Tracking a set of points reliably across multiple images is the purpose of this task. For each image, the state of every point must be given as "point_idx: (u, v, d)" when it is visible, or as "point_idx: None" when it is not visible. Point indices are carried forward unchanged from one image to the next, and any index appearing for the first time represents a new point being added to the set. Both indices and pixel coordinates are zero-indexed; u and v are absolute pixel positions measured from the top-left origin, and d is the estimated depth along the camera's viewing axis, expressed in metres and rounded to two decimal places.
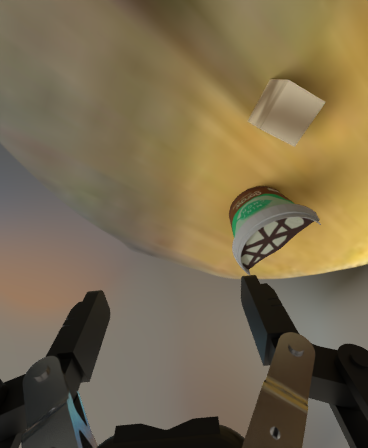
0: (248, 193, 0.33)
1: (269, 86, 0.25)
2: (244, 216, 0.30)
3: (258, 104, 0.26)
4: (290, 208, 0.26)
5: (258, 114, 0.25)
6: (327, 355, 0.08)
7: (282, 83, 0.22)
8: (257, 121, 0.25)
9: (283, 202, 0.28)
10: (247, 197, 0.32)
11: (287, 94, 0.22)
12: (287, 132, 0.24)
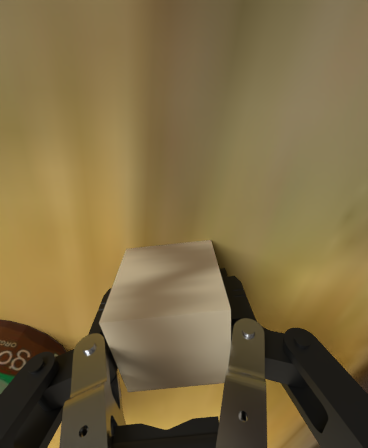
0: (10, 340, 0.14)
1: (199, 251, 0.11)
2: None
3: (162, 250, 0.12)
4: None
5: (139, 275, 0.10)
6: (277, 338, 0.09)
7: (216, 291, 0.09)
8: (124, 286, 0.10)
9: None
10: None
11: (204, 324, 0.08)
12: (138, 368, 0.09)
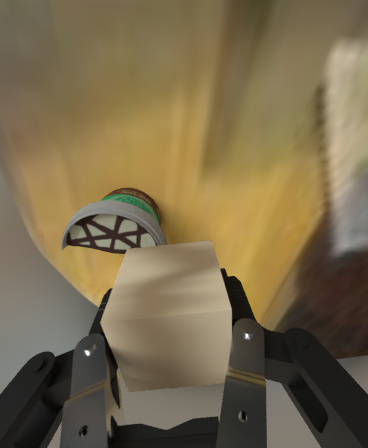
0: (142, 194, 0.30)
1: (200, 251, 0.11)
2: (119, 199, 0.26)
3: (163, 250, 0.12)
4: (157, 229, 0.24)
5: (140, 275, 0.10)
6: (277, 338, 0.09)
7: (217, 291, 0.09)
8: (125, 286, 0.10)
9: None
10: (138, 195, 0.29)
11: (205, 324, 0.08)
12: (139, 368, 0.09)
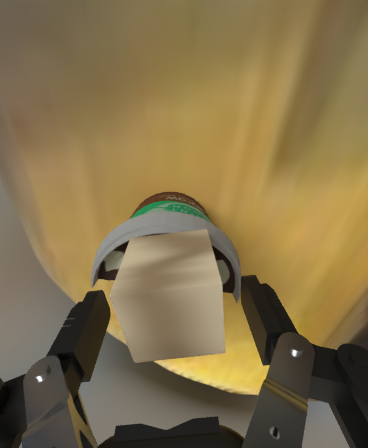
0: (191, 200, 0.22)
1: (196, 238, 0.13)
2: (172, 209, 0.18)
3: (163, 238, 0.13)
4: (234, 252, 0.16)
5: (143, 259, 0.11)
6: (327, 355, 0.08)
7: (210, 270, 0.10)
8: (129, 268, 0.11)
9: None
10: (188, 201, 0.21)
11: (199, 297, 0.10)
12: (143, 339, 0.11)
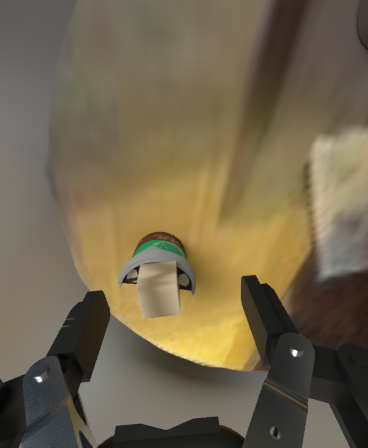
0: (172, 237, 0.38)
1: (170, 265, 0.29)
2: (160, 246, 0.34)
3: (155, 265, 0.30)
4: (191, 270, 0.33)
5: (147, 275, 0.28)
6: (327, 355, 0.08)
7: (173, 280, 0.26)
8: (141, 279, 0.27)
9: None
10: (170, 239, 0.37)
11: (168, 290, 0.26)
12: (147, 307, 0.27)
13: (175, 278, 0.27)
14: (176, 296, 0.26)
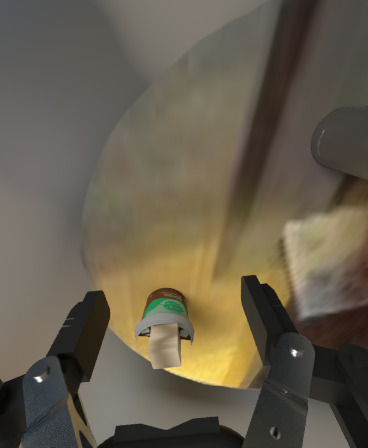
0: (175, 293, 0.48)
1: (173, 328, 0.39)
2: (166, 306, 0.44)
3: (162, 327, 0.40)
4: (189, 326, 0.43)
5: (156, 337, 0.38)
6: (327, 355, 0.08)
7: (175, 343, 0.37)
8: (152, 341, 0.37)
9: (187, 318, 0.45)
10: (174, 295, 0.47)
11: (171, 352, 0.36)
12: (156, 362, 0.37)
13: (176, 341, 0.37)
14: (177, 355, 0.37)
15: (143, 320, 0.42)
